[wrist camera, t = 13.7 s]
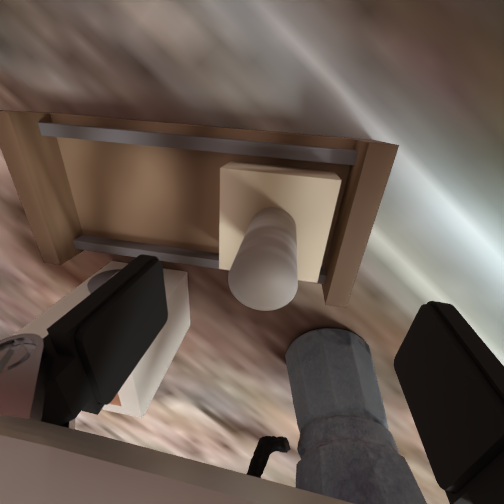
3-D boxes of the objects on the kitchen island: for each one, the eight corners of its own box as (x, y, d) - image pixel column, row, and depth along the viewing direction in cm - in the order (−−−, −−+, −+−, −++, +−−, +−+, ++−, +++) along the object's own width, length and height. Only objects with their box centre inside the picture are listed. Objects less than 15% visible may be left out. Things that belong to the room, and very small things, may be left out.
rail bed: (374, 140, 17) (399, 145, 13) (336, 274, 22) (346, 307, 18) (49, 112, 19) (-14, 109, 15) (84, 239, 24) (43, 262, 20)
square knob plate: (333, 171, 16) (371, 215, 9) (313, 261, 20) (327, 353, 12) (231, 161, 17) (178, 193, 9) (228, 250, 20) (187, 329, 13)
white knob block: (186, 267, 24) (125, 349, 15) (190, 324, 28) (142, 418, 19) (110, 256, 25) (10, 328, 16) (123, 313, 28) (47, 398, 20)
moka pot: (388, 393, 28) (549, 845, 10) (254, 376, 30) (200, 729, 13) (412, 330, 24) (756, 931, 6) (252, 317, 26) (165, 729, 8)
